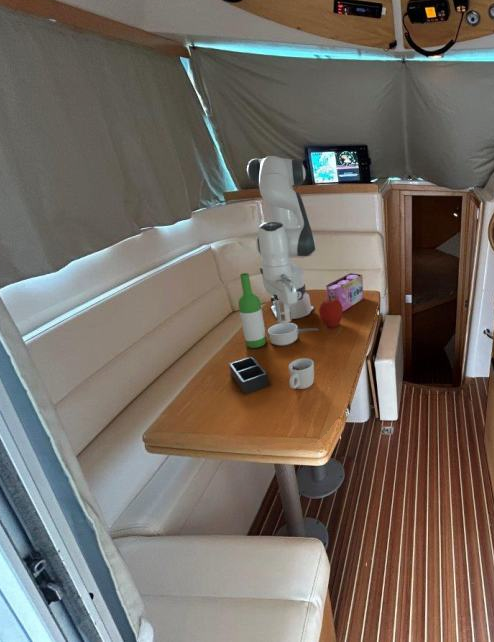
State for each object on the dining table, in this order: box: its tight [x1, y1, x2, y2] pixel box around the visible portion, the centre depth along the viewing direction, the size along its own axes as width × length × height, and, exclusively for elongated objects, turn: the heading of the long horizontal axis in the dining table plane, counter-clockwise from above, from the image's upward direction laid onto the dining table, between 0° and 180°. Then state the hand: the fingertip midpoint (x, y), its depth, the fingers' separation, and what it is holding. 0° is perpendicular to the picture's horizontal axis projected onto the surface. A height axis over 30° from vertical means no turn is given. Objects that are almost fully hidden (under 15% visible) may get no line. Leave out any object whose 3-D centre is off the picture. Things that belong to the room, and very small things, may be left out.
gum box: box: [325, 272, 365, 313], centre depth 185 cm, size 24×8×14 cm, turn 159°
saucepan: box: [267, 322, 319, 346], centre depth 149 cm, size 12×20×6 cm, turn 92°
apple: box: [318, 298, 343, 328], centre depth 162 cm, size 10×10×14 cm
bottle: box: [237, 272, 268, 349], centre depth 141 cm, size 8×8×30 cm
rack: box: [228, 356, 270, 395], centre depth 122 cm, size 15×8×5 cm, turn 43°
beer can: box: [273, 291, 293, 324], centre depth 125 cm, size 5×5×12 cm
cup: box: [287, 357, 315, 390], centre depth 118 cm, size 11×8×8 cm
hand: (282, 309), depth 126 cm, fingers closed on beer can, 5 cm apart
